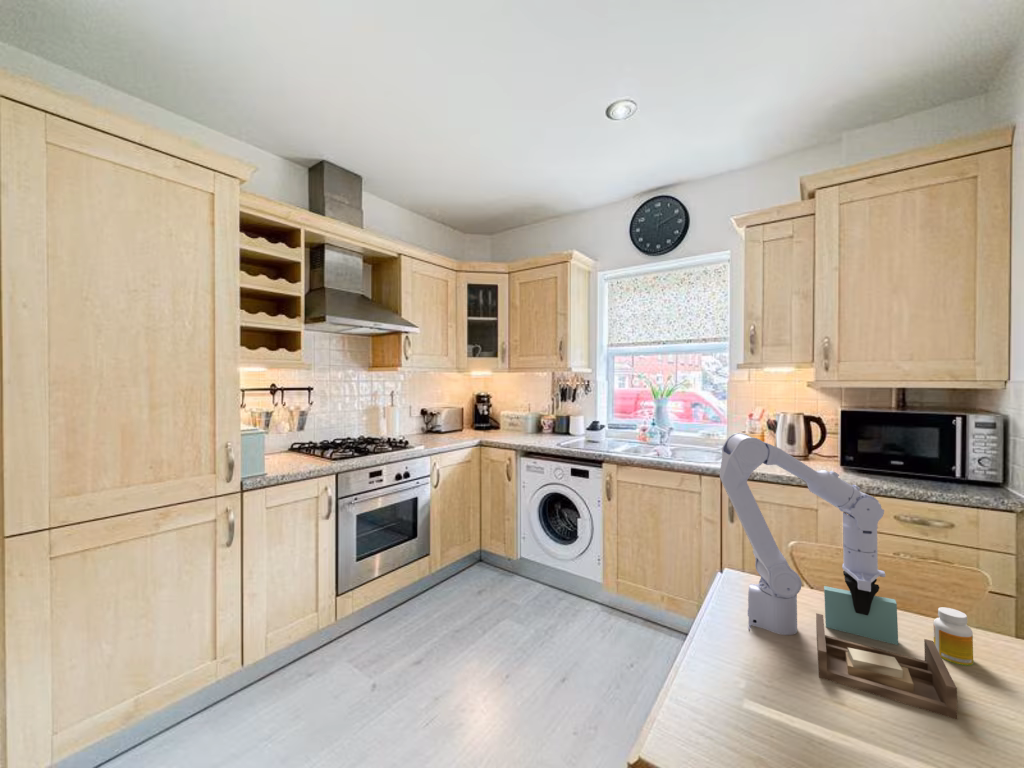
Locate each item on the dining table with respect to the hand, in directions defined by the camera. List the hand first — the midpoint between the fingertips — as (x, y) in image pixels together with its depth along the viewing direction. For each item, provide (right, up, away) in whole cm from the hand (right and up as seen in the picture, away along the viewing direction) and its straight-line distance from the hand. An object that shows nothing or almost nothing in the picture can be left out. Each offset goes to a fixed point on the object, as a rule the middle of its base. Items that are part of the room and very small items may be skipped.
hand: (861, 610), depth 91 cm
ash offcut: (-8, -4, -13) cm, 15 cm away
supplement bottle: (+12, -6, -8) cm, 15 cm away
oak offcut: (-8, -5, -13) cm, 16 cm away
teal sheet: (0, -6, 0) cm, 6 cm away
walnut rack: (-7, -6, -12) cm, 15 cm away
